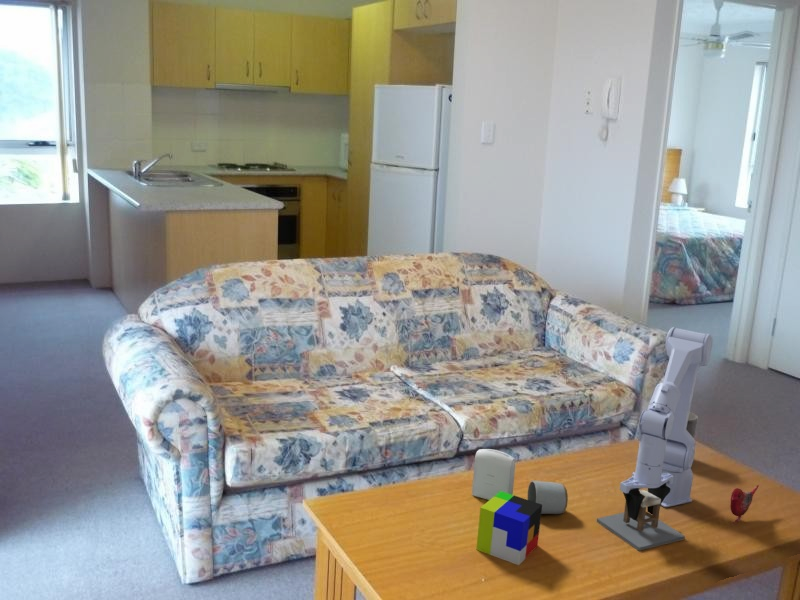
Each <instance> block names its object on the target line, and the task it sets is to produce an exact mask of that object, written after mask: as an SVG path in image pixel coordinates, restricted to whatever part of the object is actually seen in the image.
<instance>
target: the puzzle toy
mask: <svg viewBox="0 0 800 600" xmlns="http://www.w3.org/2000/svg"><path fill="white" fill-rule="evenodd" d="M541 511H542V504H539V503H536V502H533V501H530V500H527V498H523V497H520V496H516V495H514V494H513V495H511V494H508V493H505V492H502V491H500V492H499V493H498V494H496V495H495V496H494V497H493V498H492V499H490V500H488V501H487V502H485V503H484V504H482V506H481V507H480V510H479V520H478V530H477V539H476V549H475V550H477V551H479V552H482V553H485V554H486V555H487V554H488V555H491V556H492V557H493V556H494V557H496V558H498V559H501V560H504V561H506V562H509V563H512V564H515V565H517V566H520V565H521V564H522V562H523V561H525V559H527V557H528V556H529V555H530V554H531V553H532V552H533V551H534V550H535V549H536V548H537V547H538V546H539V545H538V543H539V536H540V535H539V534H540V526H541V517H542V514H541Z"/></svg>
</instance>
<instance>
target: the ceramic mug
mask: <svg viewBox="0 0 800 600" xmlns="http://www.w3.org/2000/svg"><path fill="white" fill-rule="evenodd" d="M568 497H569V496H568V491H567V488H566V486H565V485H564V484H562V483H560V482H559V483H558V482H552V481H542V480H541V481H540V480H531V481H530V482H529V484H528V488H527V498H526V499H527V500H530V501H533V502H536V503H539V504H542V511H541V515H543V514H547V515H549V514H550V515H558V514H559V515H560V514H563V513H565V511H566V509H567V507H568V501H569V500H568Z"/></svg>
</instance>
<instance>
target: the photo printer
mask: <svg viewBox="0 0 800 600" xmlns="http://www.w3.org/2000/svg"><path fill="white" fill-rule="evenodd" d="M515 470H516V458H515V457H513V456H511V455H510V454H509V453H506V452H503V451H501V450H497V449H491V448H482V449H481V448H480V449H478V450H477V451H476V453H475V456H474V466H473V473H472V474H473V475H472V486H471V487H472V488H471V495H472V496H474V497H477V498H481V499H484V500H488V501H489V500H490V499H492V498H493V497H494V496H495V495H496V494H498V493H499V492H500V491H502V492H505V493H508V494H511V495H514V482H515V472H516V471H515Z"/></svg>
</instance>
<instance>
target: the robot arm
mask: <svg viewBox="0 0 800 600" xmlns="http://www.w3.org/2000/svg"><path fill="white" fill-rule="evenodd" d="M665 338H666V339H665V346H664V347H665V349H666V355H667V356H668V357H669V358H668V359H669V360H668V362H667V363H668V364H667V366H666V370H665V374H664V377H663V380H662V381H663V382H659V383H658V384H657V385H656V386H655V388H654V390H653V393H652V396H651V398H650V401H649V403H648V406H647V409H646V410H645V409H644V410H642V412H641V414H640V416H639V420H638V427H637V428H638V429H637V431H638V437H637V438H638V441H639V446H638V452H637V457H636V465H635V471H633V472H632V476H630V477H629V478H628V479H626V480H623V481H621V482H620V484H619V490H620V491H621V492H622V494H623V496H624V498H625V499H624V500H625V503H627V509H628V516H629V517H630V518H632V519H633V520H637V517H638V514H639V509H640V506H641V503H642V501H643V499H644V498H645V496H644V495H642V494H641V493H640V490H641V489H642V490H643V489H647V490H646V491H647V492H649V493H651V494H653V495H655V496H656V497H658V498H660V499H661V503H660V506H662V507H664V508H670V507H675V506H678V505H683V504H687V503H688V504H689V503H692V502H693V499H692V498H691V492H692V487H693V481H694V474H693V470H692V469H691V468H692V465H693V463H694V459H695V454H696V444H697V442H696V440H695V437H694V438H693V437H692V436H691V435H690V433H689V432H688V431H687V430H686V428H687V423H688V418H689V413H690V412H691V407H692V402H693V396H694V392H695V386H696V381H697V377H698V374H699V370H700V368H701V367H707V366H708V363H709V362H710V359H711V358H710V357H711V353H712V348H713V342H714V340H713V336H712V334H710V333H703V332H697V331H693V330H688V329H683V328H679V327H678V328H677V327H675V326H672V327H671V328H670V329H669V330H668V332H667V334H666V337H665ZM669 439H670V440H669ZM673 440H674V441H673ZM676 441H678V442H676ZM680 442H682V443H680ZM653 507H654V505H652V506H647V507H646V511H647V512H648V513H650V514H651V515H653Z"/></svg>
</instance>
